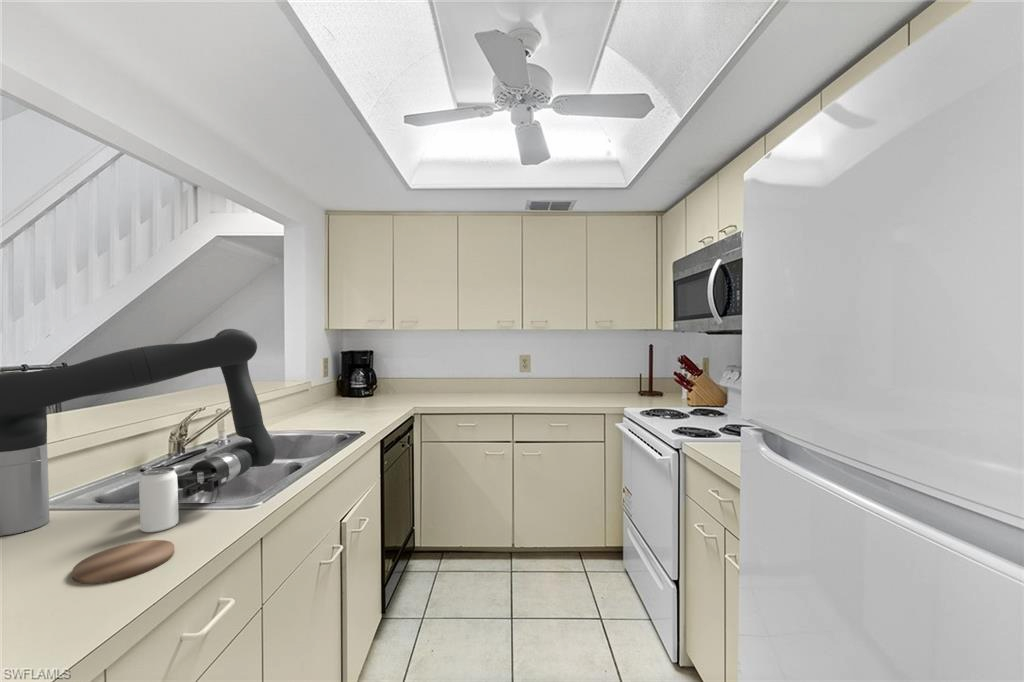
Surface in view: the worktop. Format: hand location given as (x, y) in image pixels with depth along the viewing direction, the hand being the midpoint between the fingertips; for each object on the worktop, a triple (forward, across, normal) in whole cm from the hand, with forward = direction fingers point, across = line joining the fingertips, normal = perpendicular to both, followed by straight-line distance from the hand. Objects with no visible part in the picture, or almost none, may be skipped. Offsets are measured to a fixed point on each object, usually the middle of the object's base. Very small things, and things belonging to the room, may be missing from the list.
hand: (165, 493), depth 101 cm
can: (+2, 0, +7) cm, 7 cm away
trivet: (+17, +6, +7) cm, 19 cm away
